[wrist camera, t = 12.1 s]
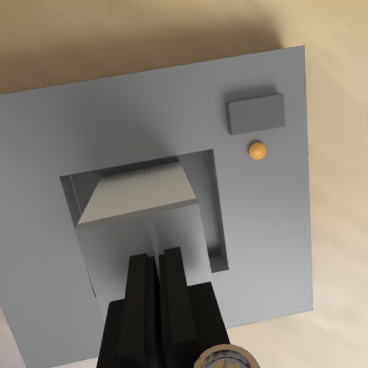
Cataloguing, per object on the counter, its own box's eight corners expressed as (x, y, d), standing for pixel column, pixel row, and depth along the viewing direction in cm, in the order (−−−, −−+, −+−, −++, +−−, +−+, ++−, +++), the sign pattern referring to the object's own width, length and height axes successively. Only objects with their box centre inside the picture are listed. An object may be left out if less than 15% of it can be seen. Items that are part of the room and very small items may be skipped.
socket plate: (284, 50, 15) (311, 43, 13) (296, 288, 20) (318, 317, 17) (-52, 105, 14) (-93, 108, 12) (40, 343, 19) (24, 382, 16)
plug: (179, 161, 16) (198, 203, 10) (196, 247, 17) (221, 326, 11) (100, 177, 15) (74, 230, 10) (125, 263, 17) (114, 352, 11)
